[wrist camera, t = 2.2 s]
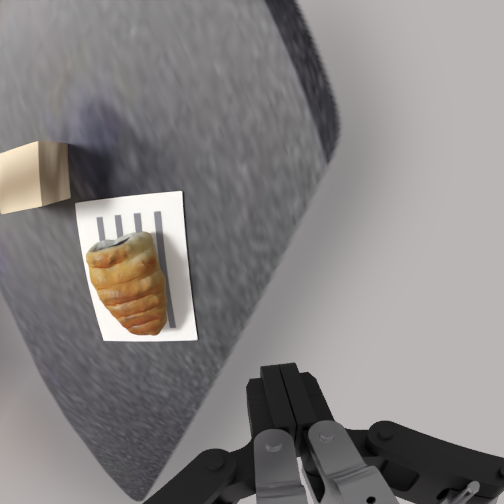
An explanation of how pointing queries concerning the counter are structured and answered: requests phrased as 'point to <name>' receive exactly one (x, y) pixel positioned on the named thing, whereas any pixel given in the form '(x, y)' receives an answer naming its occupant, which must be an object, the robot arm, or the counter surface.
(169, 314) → the letter
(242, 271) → the counter surface
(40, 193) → the maple cube
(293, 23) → the counter surface
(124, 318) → the pastry
